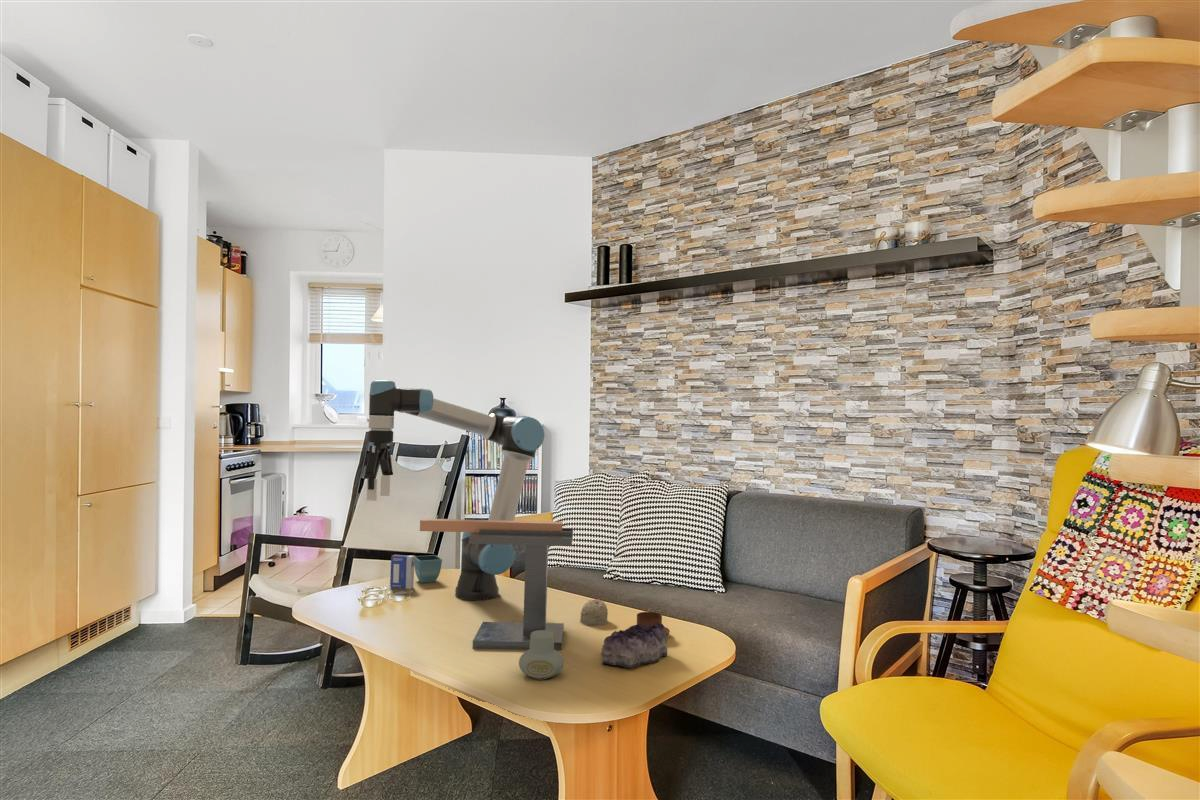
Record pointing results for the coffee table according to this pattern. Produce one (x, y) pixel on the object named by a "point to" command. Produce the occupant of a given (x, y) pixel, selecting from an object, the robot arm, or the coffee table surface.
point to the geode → (635, 646)
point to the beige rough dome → (594, 613)
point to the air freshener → (541, 656)
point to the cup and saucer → (650, 620)
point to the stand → (534, 590)
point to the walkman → (402, 571)
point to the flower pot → (427, 568)
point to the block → (486, 525)
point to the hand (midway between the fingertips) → (378, 498)
